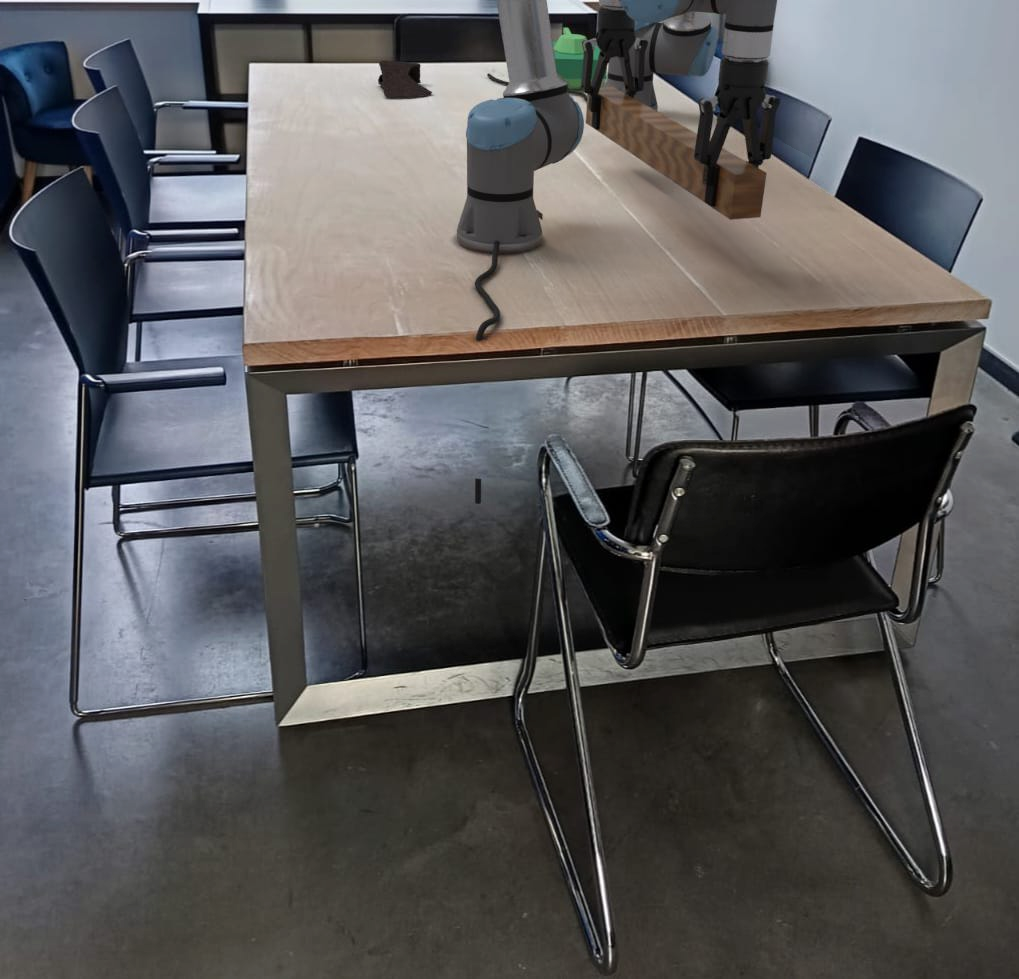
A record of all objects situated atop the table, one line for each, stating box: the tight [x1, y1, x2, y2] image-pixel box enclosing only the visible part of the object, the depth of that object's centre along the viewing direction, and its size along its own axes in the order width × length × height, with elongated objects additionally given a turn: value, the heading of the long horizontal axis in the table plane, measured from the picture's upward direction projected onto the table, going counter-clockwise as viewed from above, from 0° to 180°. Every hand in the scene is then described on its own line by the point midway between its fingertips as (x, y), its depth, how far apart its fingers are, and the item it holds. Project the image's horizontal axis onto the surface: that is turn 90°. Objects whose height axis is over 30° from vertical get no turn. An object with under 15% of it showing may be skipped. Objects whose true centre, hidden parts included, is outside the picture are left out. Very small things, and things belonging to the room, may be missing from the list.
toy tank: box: [553, 27, 608, 90], centre depth 315 cm, size 18×12×35 cm
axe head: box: [377, 59, 433, 99], centre depth 299 cm, size 18×8×15 cm
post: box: [585, 86, 767, 221], centre depth 205 cm, size 68×6×7 cm, turn 17°
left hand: (726, 202), depth 184 cm, fingers closed on post, 6 cm apart
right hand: (609, 126), depth 228 cm, fingers closed on post, 6 cm apart
